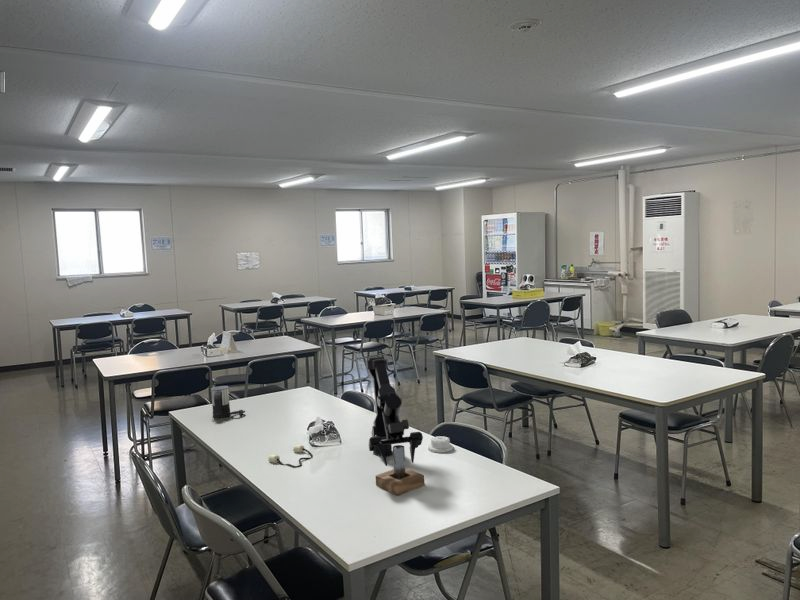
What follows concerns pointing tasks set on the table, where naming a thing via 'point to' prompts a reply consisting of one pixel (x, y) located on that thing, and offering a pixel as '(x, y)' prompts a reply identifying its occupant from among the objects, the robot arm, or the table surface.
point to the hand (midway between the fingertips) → (399, 463)
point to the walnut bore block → (400, 481)
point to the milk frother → (222, 402)
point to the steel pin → (399, 462)
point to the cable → (296, 449)
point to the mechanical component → (440, 444)
